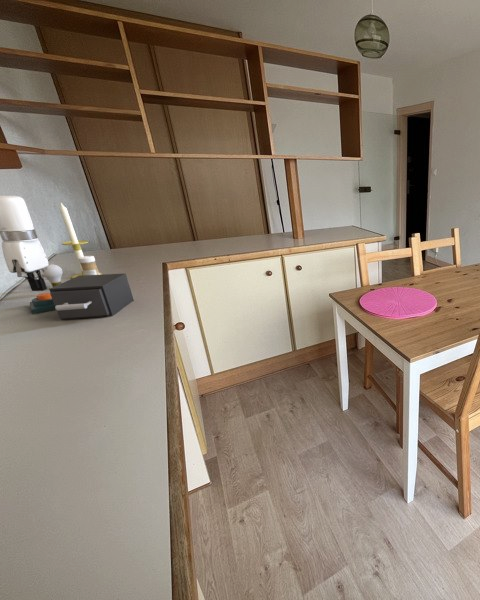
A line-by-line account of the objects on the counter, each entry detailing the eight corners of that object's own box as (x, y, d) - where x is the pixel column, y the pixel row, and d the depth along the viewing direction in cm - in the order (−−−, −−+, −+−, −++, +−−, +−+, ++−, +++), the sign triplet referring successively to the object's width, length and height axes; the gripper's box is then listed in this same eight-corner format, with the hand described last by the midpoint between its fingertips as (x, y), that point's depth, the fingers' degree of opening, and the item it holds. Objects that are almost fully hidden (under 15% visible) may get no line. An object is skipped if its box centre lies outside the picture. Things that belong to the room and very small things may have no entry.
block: (67, 307, 109) (63, 298, 107) (33, 314, 103) (28, 304, 102) (64, 300, 115) (60, 291, 113) (31, 306, 109) (27, 297, 108)
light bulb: (46, 291, 123) (36, 267, 119) (49, 287, 127) (39, 263, 124) (67, 288, 126) (58, 264, 123) (69, 285, 131) (60, 261, 127)
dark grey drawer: (100, 320, 98) (90, 294, 95) (50, 324, 95) (38, 297, 91) (128, 300, 114) (121, 277, 111) (86, 303, 111) (77, 279, 107)
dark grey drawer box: (112, 316, 103) (102, 285, 100) (61, 320, 100) (48, 288, 96) (133, 300, 116) (125, 273, 113) (89, 303, 113) (79, 275, 109)
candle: (104, 275, 144) (80, 202, 133) (75, 280, 137) (46, 203, 125) (97, 271, 149) (73, 200, 138) (68, 276, 142) (40, 201, 130)
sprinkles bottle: (107, 287, 129) (96, 255, 125) (100, 290, 125) (89, 258, 121) (93, 287, 128) (82, 255, 124) (86, 291, 124) (74, 258, 119)
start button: (54, 299, 108) (52, 294, 107) (38, 301, 105) (36, 296, 105) (53, 296, 110) (51, 291, 109) (38, 299, 108) (36, 294, 107)
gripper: (23, 232, 106) (42, 284, 112) (-18, 239, 92) (6, 298, 98) (51, 232, 108) (68, 283, 114) (15, 239, 94) (37, 296, 100)
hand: (39, 290), depth 106 cm, fingers closed
